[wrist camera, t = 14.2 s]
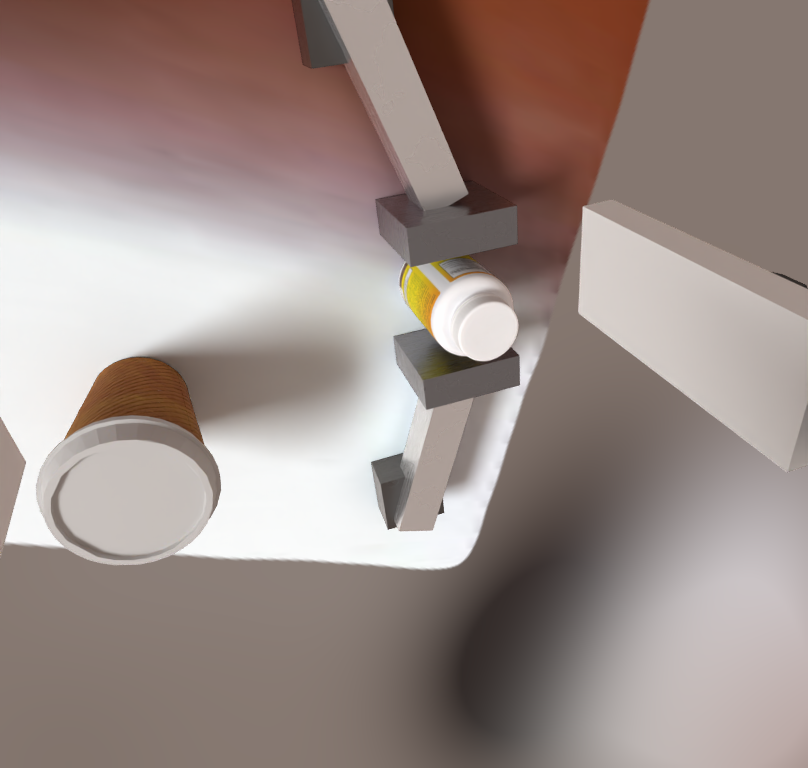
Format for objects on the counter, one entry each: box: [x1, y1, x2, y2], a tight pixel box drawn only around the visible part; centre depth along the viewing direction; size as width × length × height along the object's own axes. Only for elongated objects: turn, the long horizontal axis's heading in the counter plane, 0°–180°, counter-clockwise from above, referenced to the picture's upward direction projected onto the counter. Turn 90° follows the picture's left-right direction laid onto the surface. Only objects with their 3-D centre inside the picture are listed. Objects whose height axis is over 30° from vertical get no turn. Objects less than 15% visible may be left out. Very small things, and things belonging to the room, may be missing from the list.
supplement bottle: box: [399, 255, 519, 361], centre depth 43 cm, size 6×6×10 cm
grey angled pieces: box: [292, 0, 520, 531], centre depth 44 cm, size 10×40×7 cm, turn 6°
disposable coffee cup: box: [36, 357, 221, 565], centre depth 40 cm, size 10×10×12 cm
